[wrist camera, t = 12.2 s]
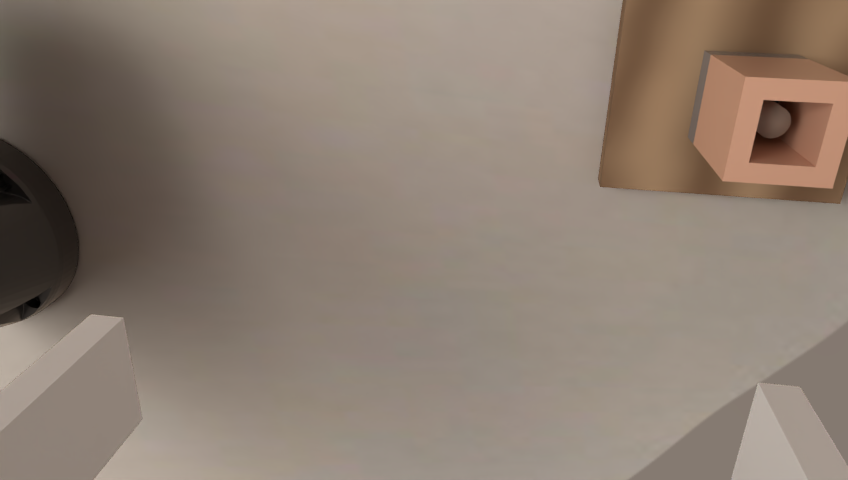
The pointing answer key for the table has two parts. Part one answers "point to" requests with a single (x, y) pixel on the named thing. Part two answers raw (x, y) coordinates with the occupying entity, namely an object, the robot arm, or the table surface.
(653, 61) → the pin board
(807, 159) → the terracotta sleeve
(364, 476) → the table surface
